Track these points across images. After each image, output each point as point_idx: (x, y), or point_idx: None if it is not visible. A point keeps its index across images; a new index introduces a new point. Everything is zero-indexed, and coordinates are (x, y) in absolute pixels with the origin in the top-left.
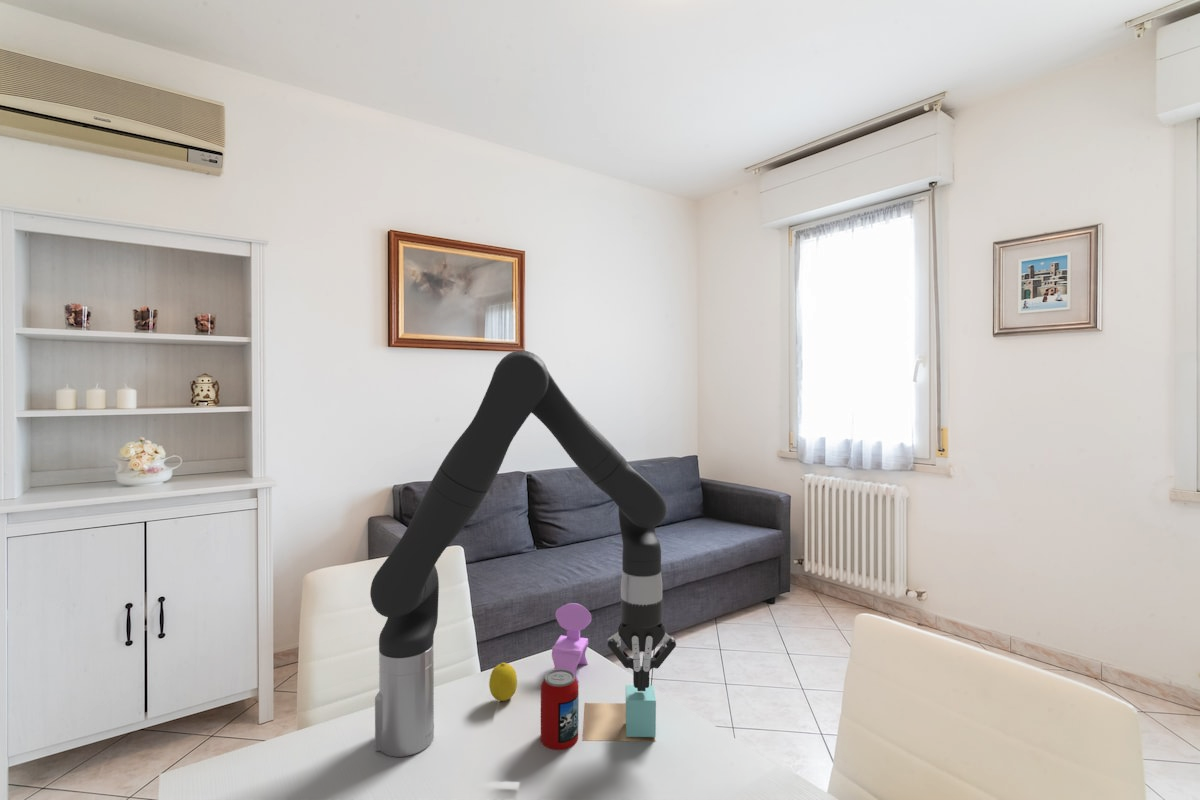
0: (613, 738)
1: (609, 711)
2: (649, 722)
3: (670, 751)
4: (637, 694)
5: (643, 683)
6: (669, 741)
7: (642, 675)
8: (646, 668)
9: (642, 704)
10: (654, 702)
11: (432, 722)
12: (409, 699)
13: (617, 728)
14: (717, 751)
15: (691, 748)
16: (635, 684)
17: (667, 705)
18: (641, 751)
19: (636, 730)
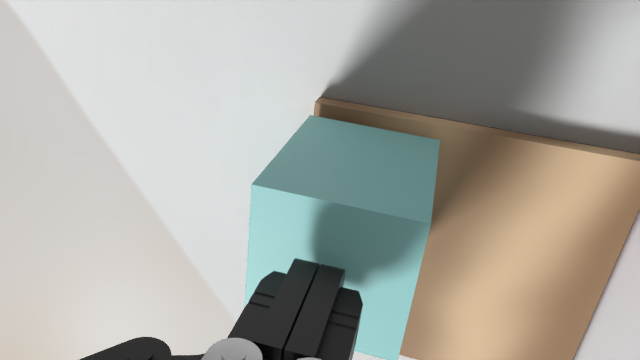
0: (499, 151)
1: (465, 322)
2: (321, 142)
3: (266, 50)
4: (348, 264)
5: (294, 289)
6: (259, 114)
7: (284, 328)
8: (232, 356)
9: (336, 191)
10: (263, 180)
11: None
12: None
13: (461, 213)
14: (90, 24)
15: (182, 57)
16: (349, 304)
17: (232, 312)
18: (387, 68)
19: (390, 141)
